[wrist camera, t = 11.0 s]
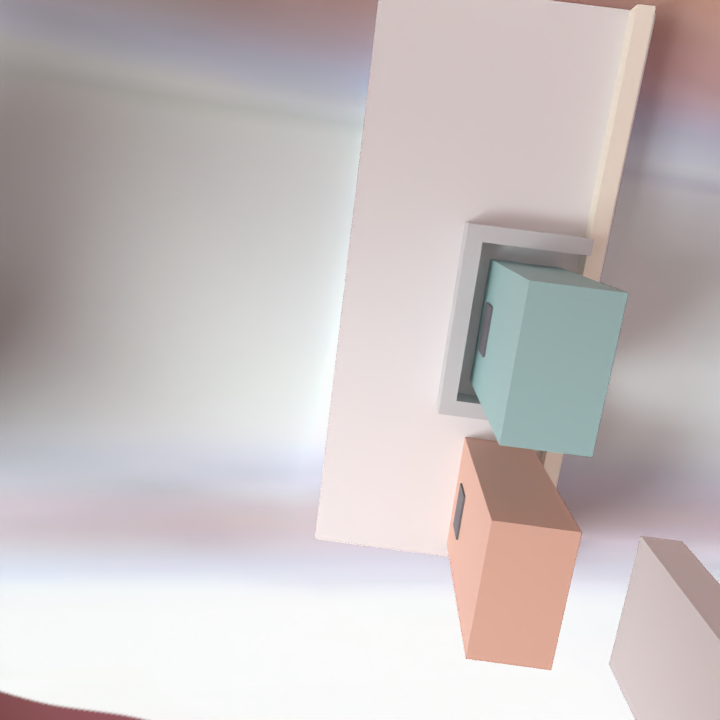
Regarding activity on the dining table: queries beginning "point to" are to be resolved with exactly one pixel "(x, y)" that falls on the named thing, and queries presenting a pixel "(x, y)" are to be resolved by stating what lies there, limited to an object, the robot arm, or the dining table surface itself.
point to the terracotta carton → (510, 555)
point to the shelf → (463, 231)
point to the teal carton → (545, 355)
